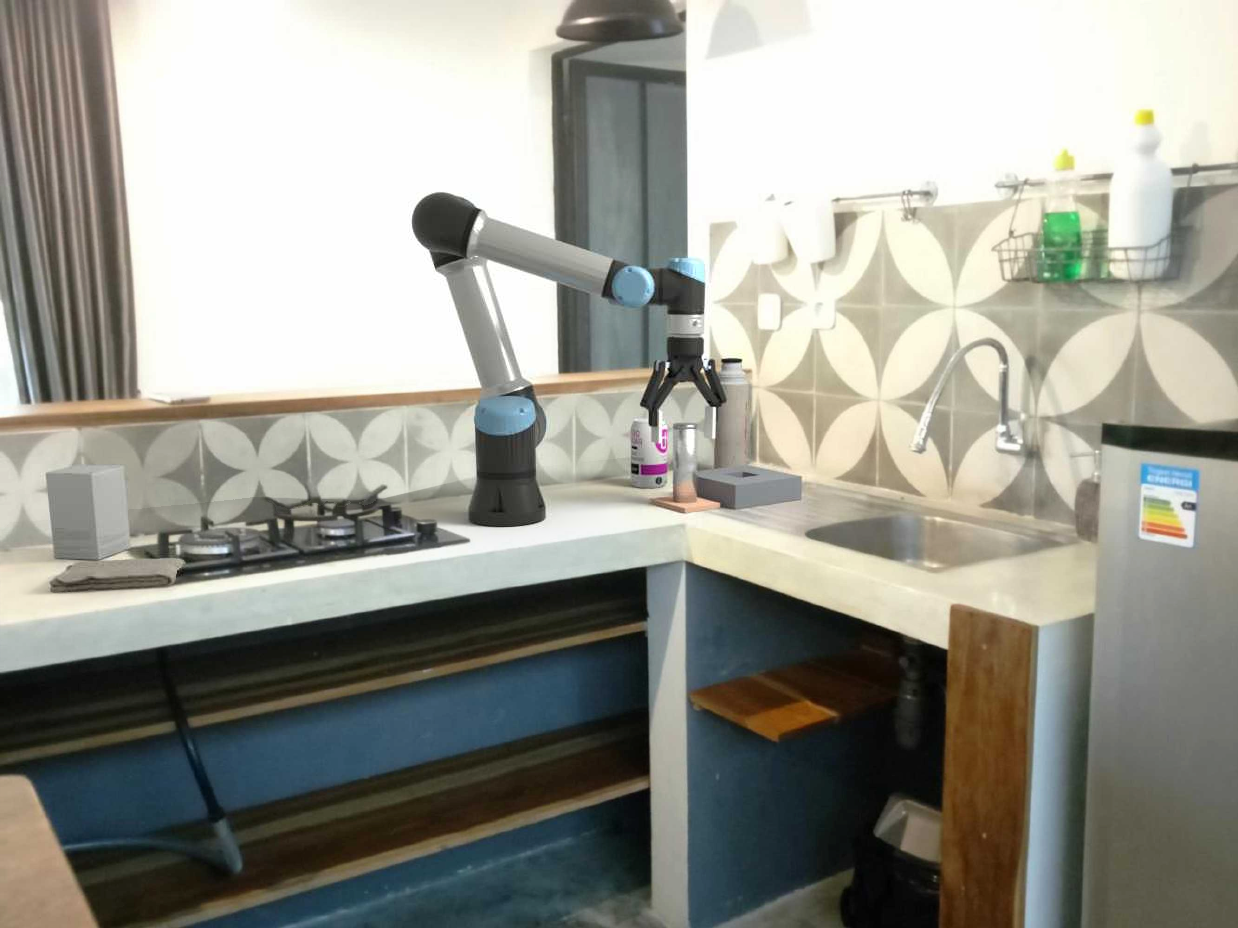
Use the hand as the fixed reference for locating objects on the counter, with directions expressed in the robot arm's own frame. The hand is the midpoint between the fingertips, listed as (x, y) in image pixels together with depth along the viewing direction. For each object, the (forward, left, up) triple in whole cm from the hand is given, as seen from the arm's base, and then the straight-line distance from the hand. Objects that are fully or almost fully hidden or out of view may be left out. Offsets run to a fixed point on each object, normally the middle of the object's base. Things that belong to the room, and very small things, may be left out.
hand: (683, 440), depth 223 cm
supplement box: (-108, +26, -14) cm, 112 cm away
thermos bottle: (+30, +22, -14) cm, 40 cm away
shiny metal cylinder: (0, 0, -13) cm, 13 cm away
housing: (+15, 0, -14) cm, 20 cm away
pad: (0, 0, -14) cm, 14 cm away
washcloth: (-107, +4, -14) cm, 108 cm away
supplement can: (+7, +23, -14) cm, 28 cm away
